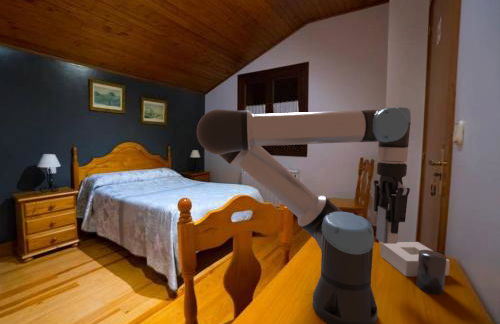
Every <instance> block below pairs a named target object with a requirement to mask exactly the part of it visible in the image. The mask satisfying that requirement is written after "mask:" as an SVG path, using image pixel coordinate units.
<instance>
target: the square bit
mask: <svg viewBox="0 0 500 324" xmlns="http://www.w3.org/2000/svg"><path fill="white" fill-rule="evenodd" d="M376 217H377V219H376V232H375V233H376V234H375V239H376V240H378V241H379V242H380V243H381V242H382V243H384V244H387V243H386V238H387V223H388V221H387V220H390V214H389V205H388V206H378V215H377V216H376ZM398 234H399V233H398ZM398 234H397V237H399V236H398Z"/></svg>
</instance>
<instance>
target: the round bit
mask: <svg viewBox="0 0 500 324" xmlns="http://www.w3.org/2000/svg"><path fill="white" fill-rule="evenodd" d="M431 250H432V249H431ZM431 250H420V251H419V257H418V270H417V276H416V283H415V285H416V287H417V288H418V289H419V290H421V291H423V292H425V293H428V294H431V295H434V296H435V295H436V296H440V295H443V294H444V293H445V282H446V280H445V279H446V276H445V271H446V260H447V259H448V258H447V256H445V255H444V254H443V253H440V252H437V251H434V250H432V251H431Z"/></svg>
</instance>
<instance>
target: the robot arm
mask: <svg viewBox="0 0 500 324" xmlns="http://www.w3.org/2000/svg"><path fill="white" fill-rule="evenodd" d="M411 126H412V123H411V109H410V108H407V107H403V106H402V107H399V106H398V107H396V106H395V107H383V108H380V109H364V110H359V109H358V110H340V111H339V110H338V111H337V110H334V111H312V112H310V111H309V112H305V111H304V112H288V113H287V112H285V113H284V112H283V113H258V114H254V113H252V112H251V110H246V109H245V110H233V109H231V110H230V109H217V108H216V109H213V110H210V111H207V112H206V113H205V114H204V115H203V116H202V117H201V118H200V120H199V121H198V123H197V127H196V137H197V140H198V143H199V144H200V145H201V147H202V148H203V149H204V150H206V151H207V152H208V153H210V154H214V155H219V156H220V158H221V159H223V160H224V161H225V162H226V163H228V164H229V165H230V166H239V167H240V168H241V169H242V170H243V171H244V172H246V174H248V175H250V177H252V178H253V179H254V180H255V182H257V183H258V184H259V185H260V186H262V187H263V188H264V189H265V190H266V191H267V192H268V193H270V194H271V195H272V196H273V197H274V198H276V199H277V200H278V202H280V204H282V205H283V206H284V207H286V209H288V210H289V211H290V212H291V213H292V214H294V215H295V217H297V224H298V226H300V227H301V229H303V230H304V231H306V233H307V234H309V235H310V237H312V238H313V239H314V240H315V242H316V243H317V245H318V247H319V249H320V251H321V253H320V254H321V260H320V276H319V278H318V281H317V283H316V286H315V288H314V291H313V293H312V307H313V310H314V312H315V313H316V315H317V316H318V317H319V318H320V319H321V320H322V321H324V322H325V323H326V324H377V322H378V313H379V312H378V311H379V310H378V306H377V305H378V304H377V302H376V299H375V295H374V291H373V289H372V272H373V254H374V247H375V246H374V244H375V237H374V228H373V225H372V224H371V222H370V221H369V220H367V219H366V218H365V217H363V216H361V215H356V214H355V213H352V212H347V211H343V210H342V209H341V208H339V207H338V206H337V205H335V204H334V203H333V202H332V201H331V200H330V199H329V198H327V196H325V195H316V194H315V193H314V192H313V191H312V190H311V189H310V188H308V186H307V185H305V183H303V182H302V181H300V179H298V178H297V176H295V175H294V174H293V173H292V172H290V170H288V169H287V168H286V167H285V166H284V165H282V163H280V162H279V161H278V160H277V159H276V158H275V157H274V156H272V155H271V154H270V153H269V152H268V151H267V150H266V149H265V148H264V146H265V147H267V146H289V145H294V146H295V145H296V146H297V145H317V144H320V145H321V144H347V143H377V142H378V148H377V160H378V162H377V165H376V174H377V175H379V176H380V177H379V179H375V180H374V179H373V185H374V196H373V197H374V199H373V211H374V212H376V214H377V216H378V206H389V214H390V220H387V221H388V223H387V238H386V243H387V244H397V242H398V236H397V234H399V227H400V226H399V225H400V223H406V218H407V217H406V216H407V209H408V208H407V206H408V198H409V194H410V192H411V189H410V187H405V186H404V183H403V178H405V177H406V176H407V170H408V165H407V163H406V162H408V153H409V145H410V144H409V143H410V132H411V131H410V130H411Z"/></svg>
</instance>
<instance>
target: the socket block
mask: <svg viewBox="0 0 500 324" xmlns="http://www.w3.org/2000/svg"><path fill="white" fill-rule="evenodd" d="M420 250H431V251H433V250H432V249H431V248H429V247H427V246H425V245H424V244H423V243H420V242H419V241H397V244H384V243H382V242H381V241H380V251H379V252H380V253H379V255H380V257H381V258H383V259H384V260H385V261H386V262H388V263H389V264H390V265H391V266H392V267H394V268H395V269H396V270H397V271H399V273H401V274H402V275H403V276H404V277H417V270H418V257H419V251H420ZM450 261H451V260H450V259H448V258H447V260H446V271H445V277H446V276H449V273H450Z"/></svg>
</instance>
